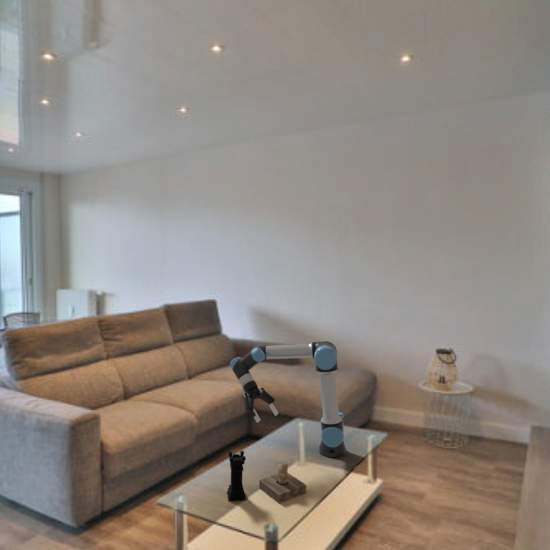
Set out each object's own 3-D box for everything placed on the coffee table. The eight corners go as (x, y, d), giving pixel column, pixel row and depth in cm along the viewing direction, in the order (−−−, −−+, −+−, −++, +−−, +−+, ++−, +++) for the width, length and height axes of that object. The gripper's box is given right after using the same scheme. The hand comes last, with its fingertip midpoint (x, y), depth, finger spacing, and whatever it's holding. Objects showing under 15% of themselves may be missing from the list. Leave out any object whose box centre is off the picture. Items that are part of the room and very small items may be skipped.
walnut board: (285, 479, 240) (285, 471, 240) (306, 493, 227) (306, 484, 227) (259, 488, 230) (259, 480, 230) (279, 503, 218) (279, 494, 217)
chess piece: (228, 501, 218) (229, 459, 217) (226, 492, 226) (227, 451, 225) (245, 500, 220) (246, 458, 218) (243, 491, 228) (244, 450, 226)
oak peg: (283, 487, 232) (283, 461, 231) (288, 491, 228) (289, 464, 227) (276, 489, 229) (276, 463, 228) (281, 493, 226) (282, 467, 225)
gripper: (261, 382, 269) (280, 415, 260) (227, 392, 251) (247, 428, 242) (267, 375, 266) (287, 408, 256) (234, 384, 247) (254, 420, 238)
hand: (268, 418), depth 249 cm, fingers open, 13 cm apart
